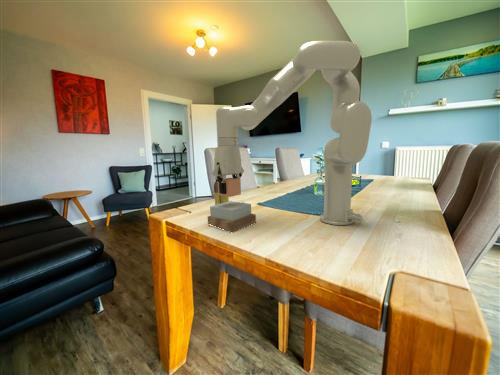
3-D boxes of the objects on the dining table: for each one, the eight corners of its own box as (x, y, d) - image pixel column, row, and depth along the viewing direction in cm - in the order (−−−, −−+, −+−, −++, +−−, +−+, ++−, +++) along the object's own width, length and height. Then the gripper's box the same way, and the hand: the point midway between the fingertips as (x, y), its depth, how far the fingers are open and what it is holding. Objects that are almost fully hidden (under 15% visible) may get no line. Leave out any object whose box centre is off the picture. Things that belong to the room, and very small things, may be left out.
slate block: (251, 214, 84) (251, 204, 84) (232, 221, 76) (232, 210, 75) (230, 210, 91) (229, 201, 90) (210, 216, 82) (210, 206, 82)
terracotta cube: (240, 194, 82) (240, 178, 81) (229, 196, 78) (228, 180, 77) (229, 192, 86) (229, 177, 85) (218, 195, 82) (217, 179, 81)
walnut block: (255, 224, 84) (255, 214, 84) (231, 234, 75) (231, 223, 74) (232, 218, 93) (232, 209, 92) (208, 226, 83) (207, 216, 83)
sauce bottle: (230, 211, 101) (228, 169, 98) (228, 215, 95) (226, 170, 92) (217, 211, 102) (214, 169, 99) (213, 215, 96) (211, 170, 93)
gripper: (237, 144, 88) (238, 188, 90) (202, 143, 75) (204, 194, 78) (251, 143, 83) (252, 190, 86) (216, 142, 70) (218, 197, 73)
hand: (229, 191), depth 82 cm, fingers closed on terracotta cube, 6 cm apart
